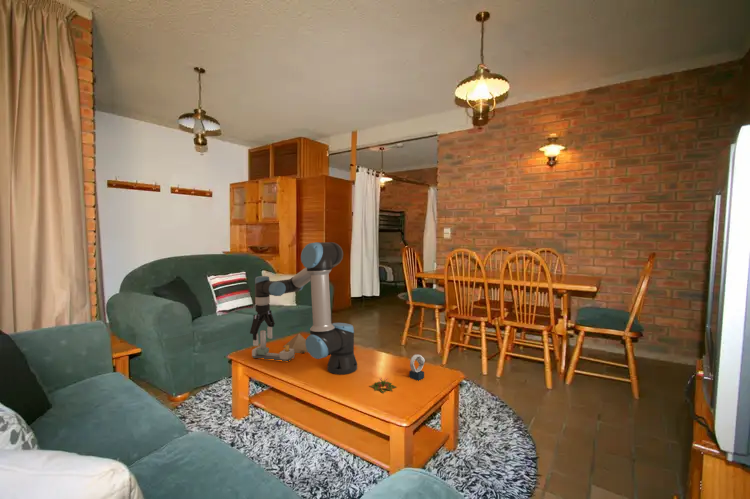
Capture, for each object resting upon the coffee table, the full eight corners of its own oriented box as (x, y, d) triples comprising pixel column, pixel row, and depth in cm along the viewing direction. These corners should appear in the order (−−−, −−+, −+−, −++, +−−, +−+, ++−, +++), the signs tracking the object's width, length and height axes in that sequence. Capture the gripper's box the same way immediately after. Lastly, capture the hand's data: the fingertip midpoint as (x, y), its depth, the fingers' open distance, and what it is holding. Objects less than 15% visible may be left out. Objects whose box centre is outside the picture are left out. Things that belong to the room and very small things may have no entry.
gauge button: (289, 352, 184) (289, 344, 184) (287, 353, 182) (287, 346, 182) (286, 351, 184) (286, 344, 184) (284, 353, 182) (284, 345, 182)
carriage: (269, 352, 189) (268, 330, 188) (263, 355, 184) (263, 332, 183) (262, 352, 190) (262, 329, 189) (257, 355, 185) (257, 332, 184)
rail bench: (294, 357, 186) (294, 348, 186) (288, 362, 179) (287, 353, 179) (259, 354, 192) (259, 345, 191) (252, 358, 185) (252, 349, 185)
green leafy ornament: (383, 379, 158) (383, 370, 158) (402, 388, 149) (402, 378, 149) (364, 387, 150) (364, 377, 150) (382, 397, 141) (382, 386, 141)
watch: (426, 377, 160) (426, 354, 160) (416, 382, 155) (416, 358, 154) (417, 373, 164) (417, 351, 164) (406, 378, 159) (406, 355, 158)
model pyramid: (288, 356, 189) (288, 339, 189) (282, 347, 204) (282, 331, 204) (317, 351, 197) (317, 335, 197) (308, 343, 212) (308, 328, 212)
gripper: (269, 299, 199) (269, 334, 200) (242, 308, 175) (243, 348, 176) (280, 300, 197) (280, 335, 198) (255, 309, 173) (255, 349, 174)
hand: (263, 341), depth 187 cm, fingers open, 13 cm apart
